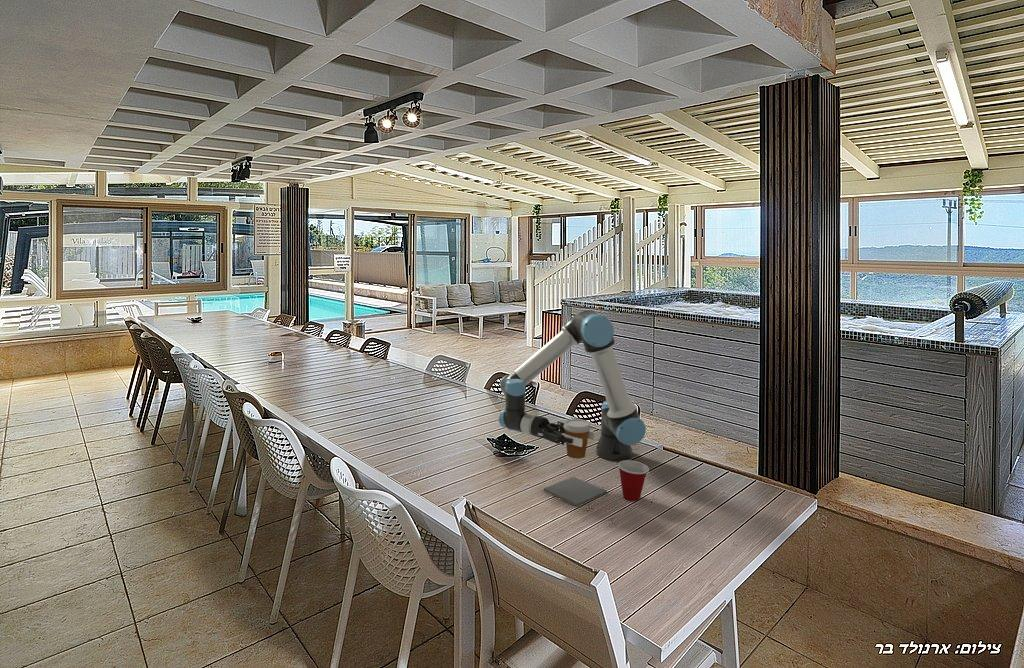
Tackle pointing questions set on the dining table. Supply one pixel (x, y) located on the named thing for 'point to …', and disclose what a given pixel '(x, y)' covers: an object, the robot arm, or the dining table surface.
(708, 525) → the dining table surface
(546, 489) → the slate board
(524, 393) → the robot arm
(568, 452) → the disposable coffee cup
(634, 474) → the plastic cup
